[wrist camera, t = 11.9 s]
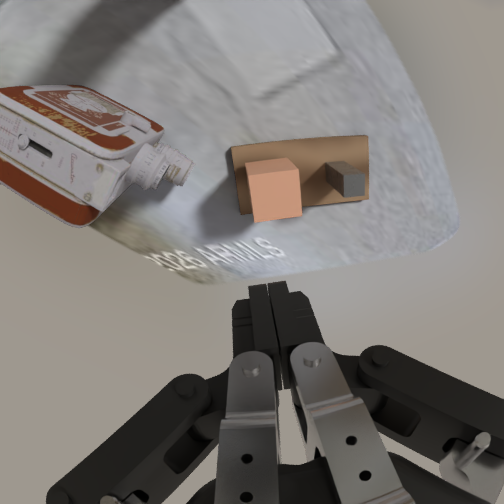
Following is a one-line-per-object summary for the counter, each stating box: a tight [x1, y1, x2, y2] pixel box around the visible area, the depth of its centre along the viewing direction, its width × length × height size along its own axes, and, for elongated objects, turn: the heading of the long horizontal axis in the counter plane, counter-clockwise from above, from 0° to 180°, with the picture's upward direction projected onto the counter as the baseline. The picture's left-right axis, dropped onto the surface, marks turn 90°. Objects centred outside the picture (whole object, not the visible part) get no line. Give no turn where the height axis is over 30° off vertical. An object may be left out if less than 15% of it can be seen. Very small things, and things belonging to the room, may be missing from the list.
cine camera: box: [0, 85, 195, 228], centre depth 26 cm, size 9×19×20 cm, turn 56°
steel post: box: [325, 161, 365, 198], centre depth 35 cm, size 3×3×7 cm
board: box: [231, 135, 369, 215], centre depth 39 cm, size 9×18×1 cm, turn 97°
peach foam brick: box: [245, 158, 302, 222], centre depth 34 cm, size 5×5×7 cm
